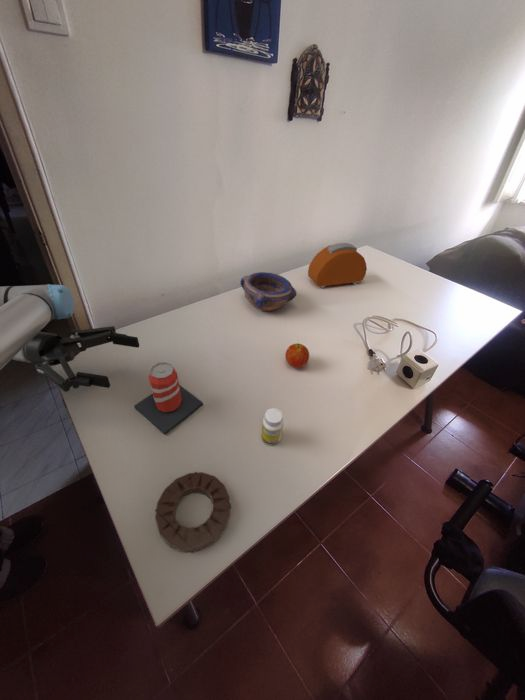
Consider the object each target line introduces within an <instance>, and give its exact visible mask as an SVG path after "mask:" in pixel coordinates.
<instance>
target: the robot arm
mask: <svg viewBox="0 0 525 700" xmlns="http://www.w3.org/2000/svg"><path fill="white" fill-rule="evenodd" d="M74 311H75V300H74V297H73V294H72V292H71V290H70V288H68V287H67V286H66V285H63V284H50V283H47V284H38V285H37V284H34V285H5V286H0V371H1V370H2V369H3V368H5V366H7V365H8V363H10V361H16V362H23V363H29V364H34V368H35V369H36V371H37V373H38V375H40V376H43V377H47V379H49V380H50V381H51V382H52V383H53V384H55V385H56V386H57V387H58V388H59V389H61V390H62V392H65V393H67V392H70V390H71V388H73V389H79V388H80V387H85V388H88V387H89V388H90V387H92V386H94V387H95V386H96V387H100V388H101V387H102V388H106V389H107V388H108V389H109V388H110V387H111V383H110V380H109V377H108V376H106V375H101V374H95V373H88V372H82V371H77V372H76V373H74V372H73V370H72V368H71V366H70V365H69V364H70V362H73V361H74V359H75V358H76V357H77V356H78V355H80V354H81V353H82V352H85V351H87V349H90V348H94V347H98V346H101V345H105V344H109V343H112V344H113V345H118V346H124V347H132V348H138V349H139V348H140V342H139V338H138V336H132V335H127V334H125V333H118V332H117V330H116V327H115V326H114V325H113V326H103V327H96V328H88V329H72V330H71V335H70V336H69V337H62V336H60V335H59V334H56V333H52V332H45V331H42V330H43V329H44V328H45V327H46V326H47V325H48V324H49V323H50V322H51V321H53V320H62V319H68V318H71V317H72V316H73V314H74ZM79 344H80V346H79ZM57 365H60V366H61V367H62V370H63V371H64V373H65V375H66V376H67V378H66V379H65V378H64V377H63V376H62V375H60V374H59V373H58V372H57V371H55V369H53V368H52V367H53V366H57Z"/></svg>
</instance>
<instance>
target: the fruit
mask: <svg viewBox="0 0 525 700" xmlns="http://www.w3.org/2000/svg"><path fill="white" fill-rule="evenodd" d="M284 355H285V356H284V357H285V361H286V363H287V364H288V365H289V366H290V367H293V368H303V367H305V366H306V365H307V363H308V362H309V359H310V352H309V349H308V347H307V346H306V345H304V344H302V343H298V342H297V343H293V344H290V345H289V346H288V347H287V349H286V351H285V354H284Z"/></svg>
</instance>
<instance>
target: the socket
mask: <svg viewBox="0 0 525 700" xmlns="http://www.w3.org/2000/svg"><path fill="white" fill-rule="evenodd" d="M194 493H195V494H196V493H197V494H198V493H200V494H203V495H205V496H207V498H208V499H210V502H211V503H212V509H211V513H210V515H209V517H208V518H207V520H205V522H203V523H201V524H200V525H198V526H194V527H187V526H184V525H181V523H180V522H179V521H178V520H177V519H176V512H177V507H178V506H179V503H180V502H181V501H182V500H183V499H184V498H185V497H187V496H188V495H190V494H194ZM231 509H232V503H231V498H230V495H229V492H228V490H227V488H226V486H225V484H224V483H223V482H222V481H221V480H219V478H218V477H216V476H214V475H213V474H209V473H206V472H204V471H203V472H202V471H201V472H200V471H199V472H197V471H195V472H189V473H186V474H184V475H181V476H180V477H177V478H175V480H173V481H172V482H171V483H170V484H169V485H168V486H166V488H165V489H164V490H163V492H162V494H161V496H160V498H159V499H158V501H157V504H156V509H154V511H155V516H154V519H155V523H156V526H157V531H158V533H159V535H160V537H161V538H162V539H163V541H164V542H165V543H166V544H167V545H168V546H169V547H170V548H172V549H175V550H177V551H180V552H182V553H191V554H193V553H194V552H200V551H202V550H204V549H206V548H208V547H209V546H211V545H213V544H215V543H216V541H218V539H219V538H220V537H221V535H222V534H224V532H225V530H226V528H227V525H228V523H229V520H230V518H231Z"/></svg>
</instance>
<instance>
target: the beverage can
mask: <svg viewBox="0 0 525 700" xmlns="http://www.w3.org/2000/svg"><path fill="white" fill-rule="evenodd" d="M147 377H148V381H149V384H150V388H151V389H150V390H151V392H152V393H153V397H154V401H155V404H156V407H157V409H158V410H160V411H162V412H171V411H174V410H175V409H177V408H178V407H180V404H181V401H182V399H181V393H180V387H179V385H180V382H179V376H178V373H177V371H176V368H175V367H174V366H173V365H172V363H169V362H167V361H164V362H157V363H156V364H154V365H152V366H151V368H150V370H149V374H148V376H147ZM152 393H151V394H152Z"/></svg>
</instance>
